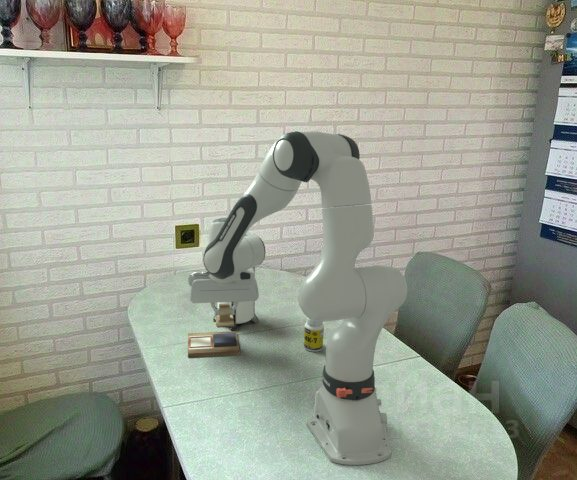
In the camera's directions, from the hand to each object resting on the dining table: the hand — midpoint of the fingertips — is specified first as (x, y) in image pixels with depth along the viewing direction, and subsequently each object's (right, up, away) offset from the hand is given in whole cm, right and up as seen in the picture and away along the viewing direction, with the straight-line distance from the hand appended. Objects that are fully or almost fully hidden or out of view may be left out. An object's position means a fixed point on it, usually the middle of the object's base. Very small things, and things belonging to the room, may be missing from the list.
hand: (224, 314), depth 169 cm
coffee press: (0, -5, +19) cm, 20 cm away
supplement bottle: (+27, -11, +2) cm, 29 cm away
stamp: (0, -3, +1) cm, 3 cm away
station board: (-4, -10, +2) cm, 11 cm away
